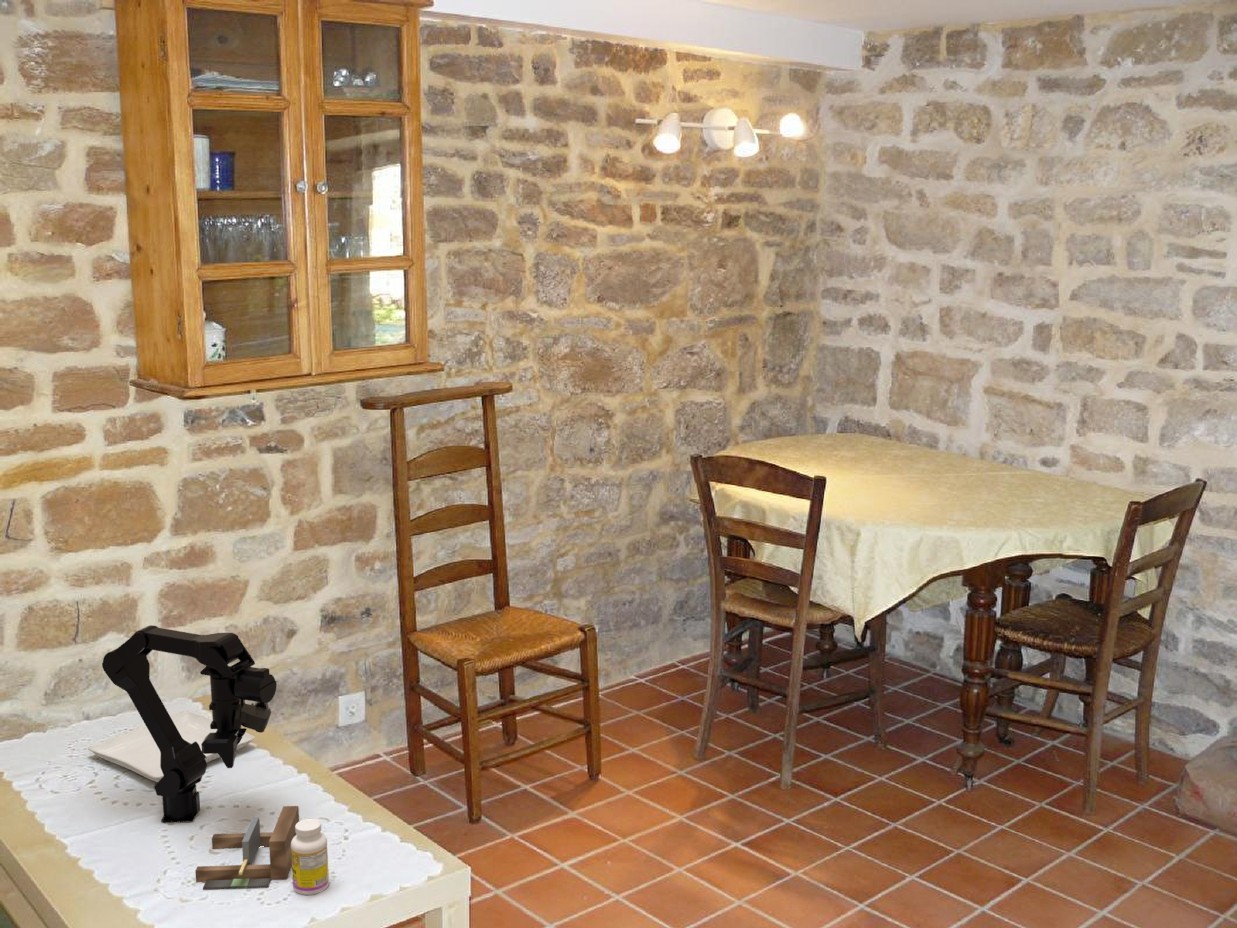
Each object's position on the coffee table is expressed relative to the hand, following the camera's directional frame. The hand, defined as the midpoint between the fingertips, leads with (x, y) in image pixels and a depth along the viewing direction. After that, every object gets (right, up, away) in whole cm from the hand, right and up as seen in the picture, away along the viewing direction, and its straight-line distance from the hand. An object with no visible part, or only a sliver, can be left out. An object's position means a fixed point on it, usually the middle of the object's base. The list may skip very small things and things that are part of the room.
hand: (230, 767), depth 254 cm
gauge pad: (+8, -15, -14) cm, 22 cm away
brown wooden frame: (+8, -16, -13) cm, 22 cm away
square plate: (-25, -6, +36) cm, 44 cm away
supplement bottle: (+22, -18, -20) cm, 35 cm away
